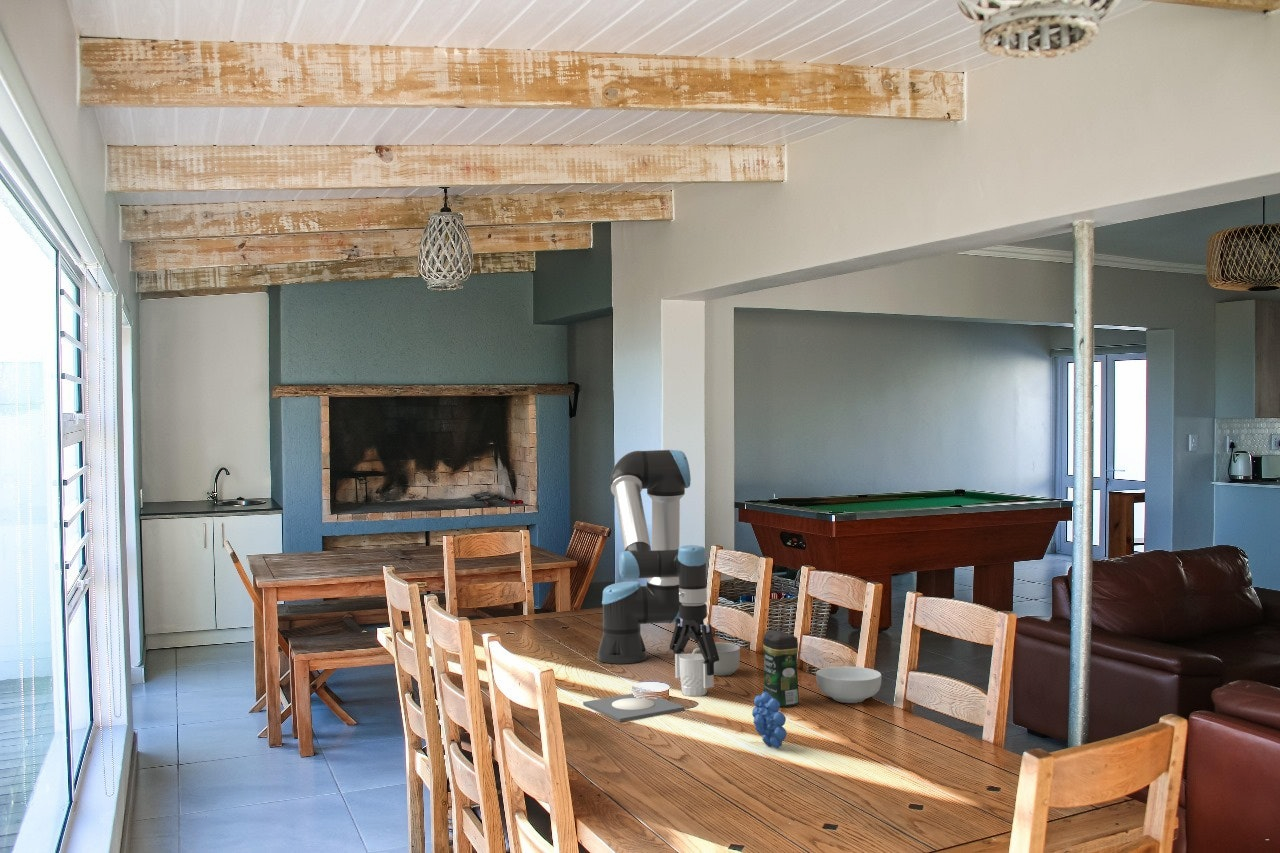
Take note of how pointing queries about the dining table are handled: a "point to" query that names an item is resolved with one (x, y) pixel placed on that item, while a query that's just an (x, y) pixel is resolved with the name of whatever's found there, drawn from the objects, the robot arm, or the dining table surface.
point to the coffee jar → (781, 667)
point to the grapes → (769, 720)
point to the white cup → (692, 674)
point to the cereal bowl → (848, 683)
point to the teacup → (725, 658)
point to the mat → (632, 707)
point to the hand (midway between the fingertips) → (694, 682)
